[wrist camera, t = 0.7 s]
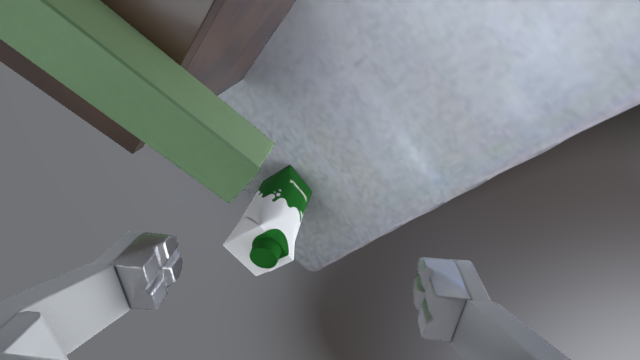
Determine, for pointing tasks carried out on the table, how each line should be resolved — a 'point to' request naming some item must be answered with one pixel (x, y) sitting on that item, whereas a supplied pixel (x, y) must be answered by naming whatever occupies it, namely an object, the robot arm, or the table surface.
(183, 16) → the drawer unit
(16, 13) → the storage box
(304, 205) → the milk carton
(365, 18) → the table surface
